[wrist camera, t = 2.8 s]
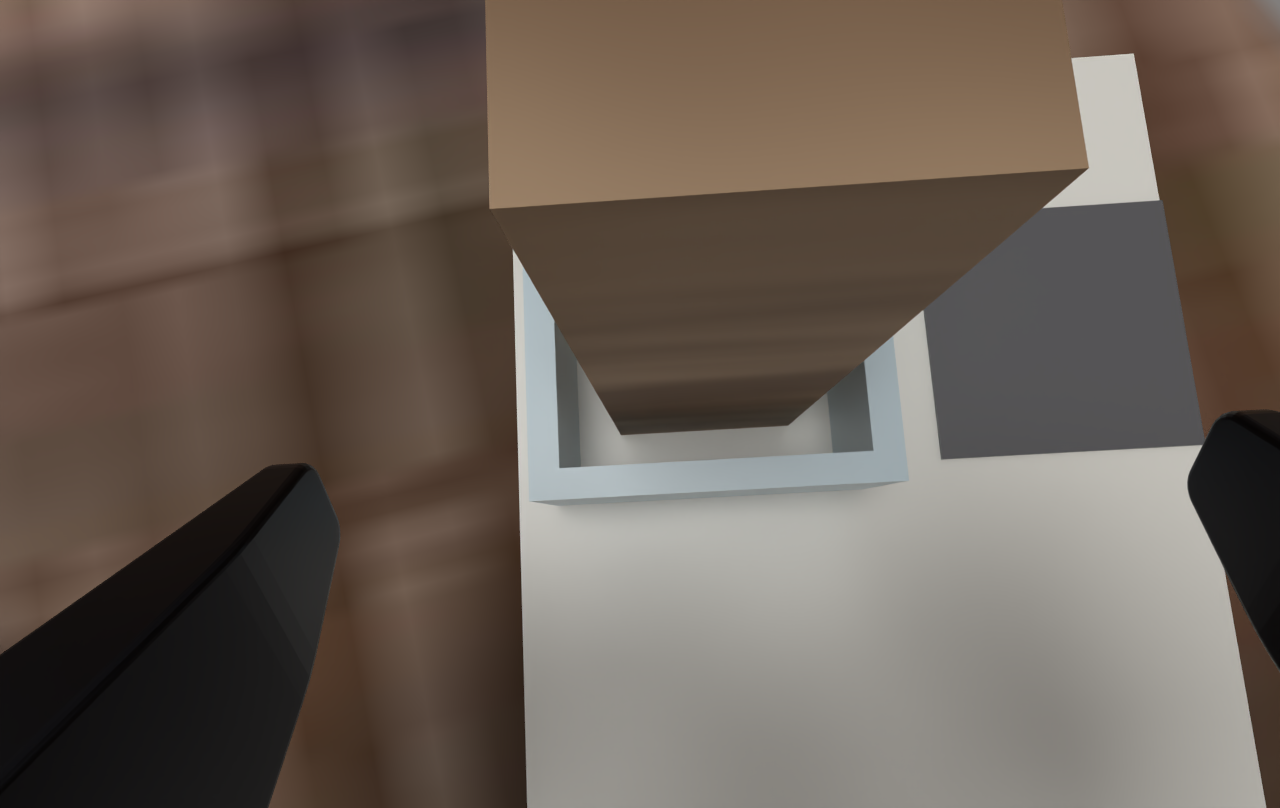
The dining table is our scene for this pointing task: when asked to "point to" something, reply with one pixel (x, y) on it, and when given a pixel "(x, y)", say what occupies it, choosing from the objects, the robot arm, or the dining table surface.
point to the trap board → (920, 561)
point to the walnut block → (764, 181)
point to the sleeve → (556, 477)
